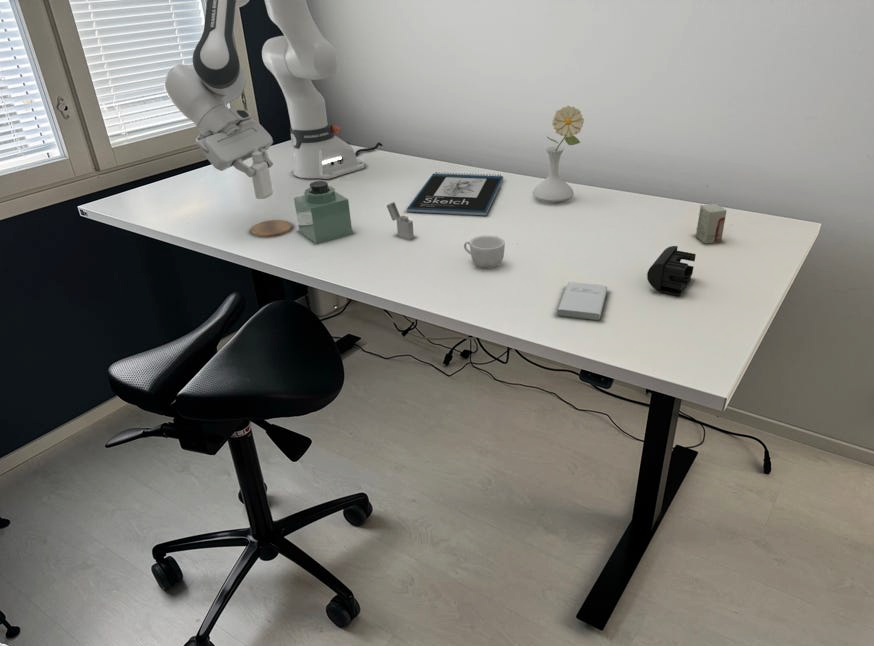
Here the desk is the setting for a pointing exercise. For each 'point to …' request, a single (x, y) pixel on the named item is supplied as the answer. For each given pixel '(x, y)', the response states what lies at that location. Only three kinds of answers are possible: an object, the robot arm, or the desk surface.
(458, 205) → the sketchbook
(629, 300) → the desk surface
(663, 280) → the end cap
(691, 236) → the desk surface
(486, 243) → the teacup
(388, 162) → the desk surface
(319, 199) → the dispenser
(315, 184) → the grey short cylinder
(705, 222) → the small box
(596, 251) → the desk surface
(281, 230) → the coaster
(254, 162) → the eye dropper bottle
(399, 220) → the lighter
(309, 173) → the robot arm
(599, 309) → the hard drive
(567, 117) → the flower in vase
